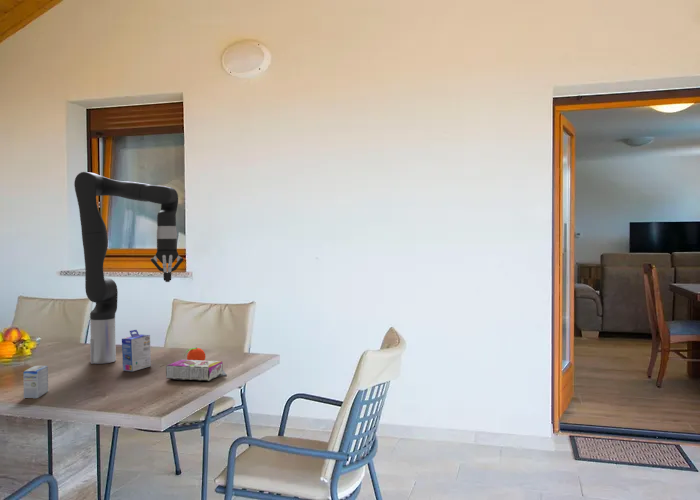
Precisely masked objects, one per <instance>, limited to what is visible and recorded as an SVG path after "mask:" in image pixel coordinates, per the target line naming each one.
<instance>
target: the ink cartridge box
mask: <svg viewBox="0 0 700 500" xmlns="http://www.w3.org/2000/svg"><path fill="white" fill-rule="evenodd" d="M129 334H130V336H128V337H127V336H126V337H124V338H121V347H122V348H121V351H122V354H121V355H122V370H123V371H125V372H136V371H139V370H143V369H145V368H146V369H147V368H149V367H152V359H151V357H152V355H151V354H152V352H151V335H150V334H139V332H138V330H137V329H132V330H129Z"/></svg>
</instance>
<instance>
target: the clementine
mask: <svg viewBox="0 0 700 500" xmlns="http://www.w3.org/2000/svg"><path fill="white" fill-rule="evenodd" d="M185 355H186V354H184V356H185ZM186 360H202V361H206V353H205V351H204V350H203V349H202V348H199V347H192V348H189V349H187V356H186Z"/></svg>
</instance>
